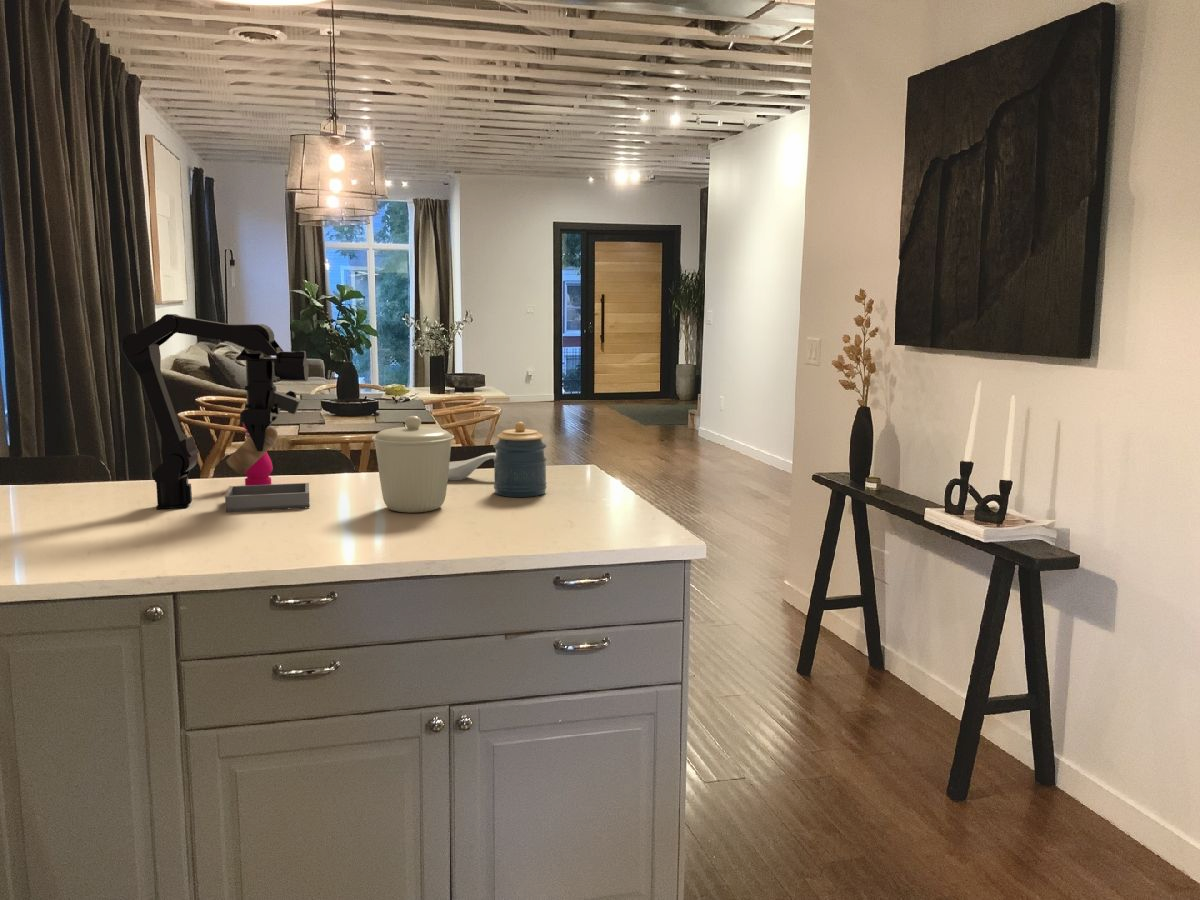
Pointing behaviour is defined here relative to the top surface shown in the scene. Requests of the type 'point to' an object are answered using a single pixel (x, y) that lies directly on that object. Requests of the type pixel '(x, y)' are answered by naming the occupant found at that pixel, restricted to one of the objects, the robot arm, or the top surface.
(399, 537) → the top surface
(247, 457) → the shaker
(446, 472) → the canister
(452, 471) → the spoon rest
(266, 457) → the pepper mill
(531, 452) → the canister
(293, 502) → the dish
